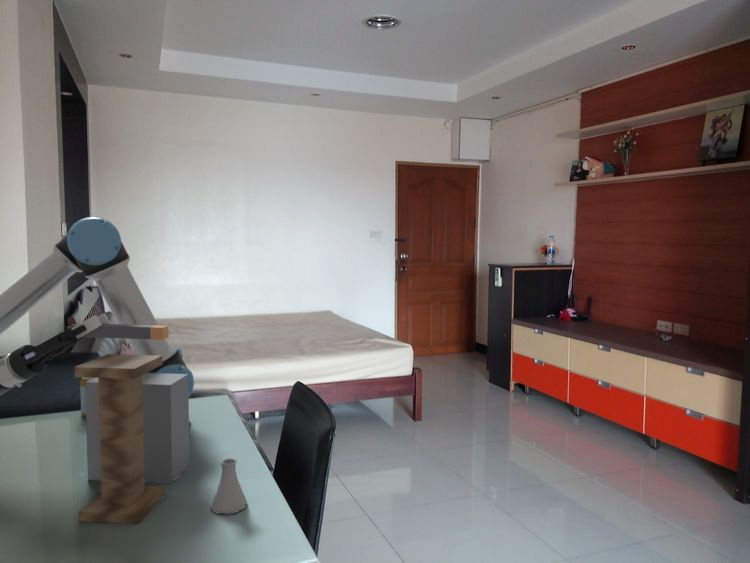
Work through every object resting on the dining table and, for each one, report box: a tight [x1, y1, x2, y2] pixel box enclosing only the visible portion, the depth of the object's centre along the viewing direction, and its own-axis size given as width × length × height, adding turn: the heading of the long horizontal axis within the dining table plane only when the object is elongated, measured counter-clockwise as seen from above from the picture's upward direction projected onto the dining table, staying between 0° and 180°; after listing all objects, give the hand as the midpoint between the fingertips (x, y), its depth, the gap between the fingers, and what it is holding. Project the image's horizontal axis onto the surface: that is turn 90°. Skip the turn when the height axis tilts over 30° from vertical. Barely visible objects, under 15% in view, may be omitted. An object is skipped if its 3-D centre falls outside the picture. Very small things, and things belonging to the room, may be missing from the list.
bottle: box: [79, 377, 94, 418], centre depth 175 cm, size 7×7×15 cm
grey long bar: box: [65, 322, 169, 340], centre depth 130 cm, size 24×3×3 cm, turn 86°
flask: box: [210, 457, 248, 514], centre depth 116 cm, size 7×7×10 cm
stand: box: [73, 353, 166, 525], centre depth 114 cm, size 12×12×31 cm
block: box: [85, 373, 190, 484], centre depth 132 cm, size 20×10×23 cm, turn 86°
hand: (102, 319), depth 130 cm, fingers closed on grey long bar, 3 cm apart
